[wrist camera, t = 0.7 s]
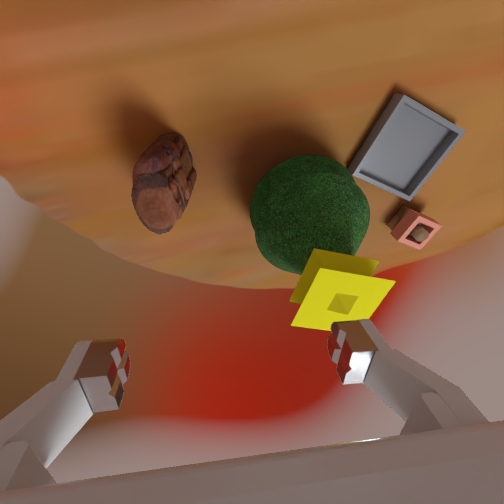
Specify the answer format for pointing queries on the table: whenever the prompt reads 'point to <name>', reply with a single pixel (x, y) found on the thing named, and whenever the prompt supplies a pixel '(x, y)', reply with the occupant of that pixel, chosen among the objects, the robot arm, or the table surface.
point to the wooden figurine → (163, 183)
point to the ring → (409, 223)
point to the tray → (404, 147)
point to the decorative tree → (318, 239)
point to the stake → (417, 231)
